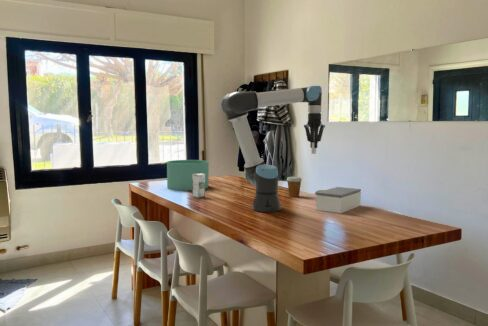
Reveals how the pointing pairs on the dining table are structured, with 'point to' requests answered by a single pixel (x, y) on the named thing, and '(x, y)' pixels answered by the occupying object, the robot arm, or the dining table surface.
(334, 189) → the cover
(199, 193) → the syrup box
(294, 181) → the disposable coffee cup
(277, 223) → the dining table surface
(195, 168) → the container
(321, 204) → the box
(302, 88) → the robot arm
